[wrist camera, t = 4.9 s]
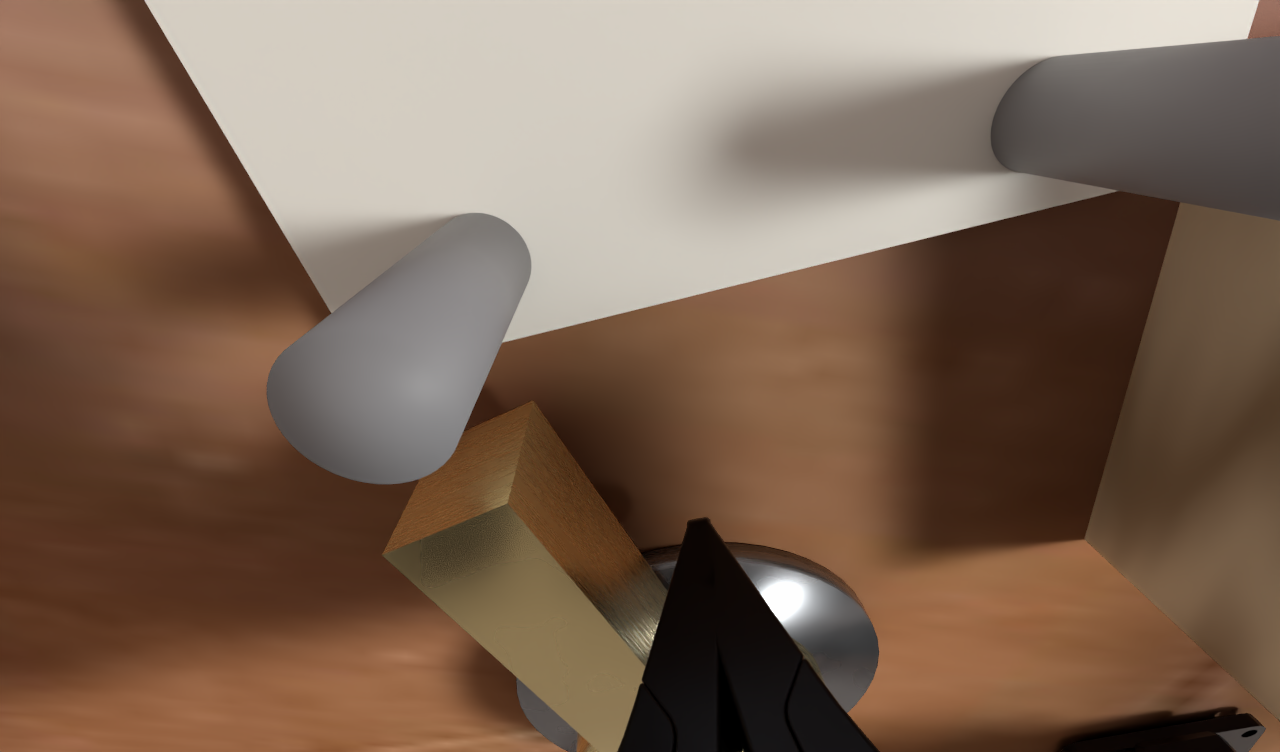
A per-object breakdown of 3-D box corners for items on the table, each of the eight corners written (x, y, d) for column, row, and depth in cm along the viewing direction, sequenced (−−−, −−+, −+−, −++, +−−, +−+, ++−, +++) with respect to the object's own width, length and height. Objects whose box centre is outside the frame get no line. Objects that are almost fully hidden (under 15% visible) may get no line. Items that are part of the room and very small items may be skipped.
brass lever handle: (846, 718, 15) (893, 843, 12) (643, 776, 16) (649, 902, 13) (653, 346, 8) (672, 451, 6) (335, 489, 9) (238, 628, 7)
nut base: (870, 720, 16) (878, 740, 16) (579, 772, 17) (578, 793, 17) (867, 505, 12) (879, 524, 11) (460, 591, 12) (454, 612, 12)
